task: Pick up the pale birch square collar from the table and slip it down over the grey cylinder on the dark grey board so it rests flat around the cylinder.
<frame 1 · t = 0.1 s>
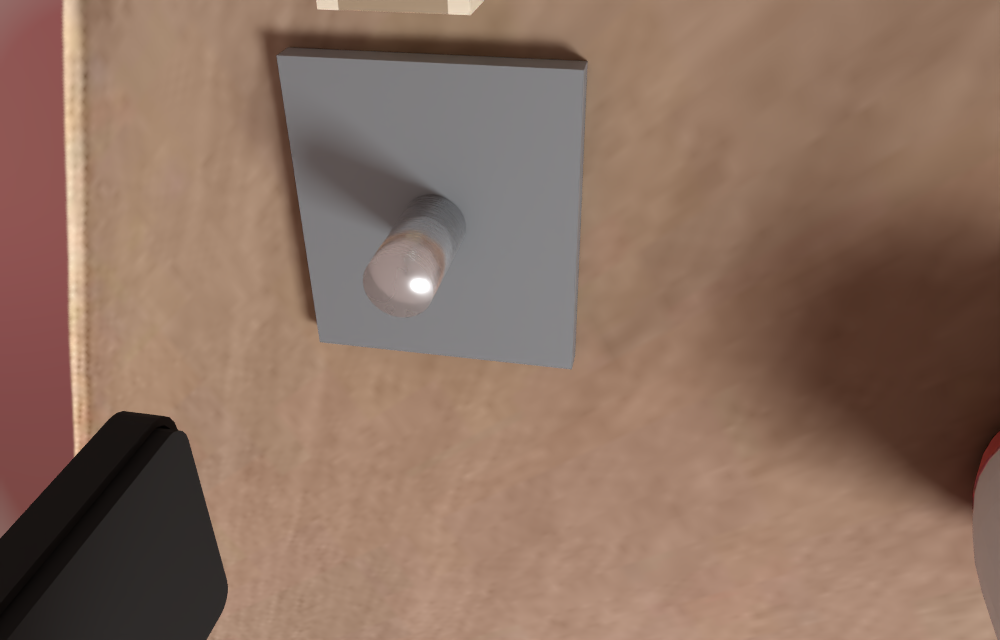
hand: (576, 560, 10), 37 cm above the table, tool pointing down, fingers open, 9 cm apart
grey board: (441, 212, 50), on the table
grey cylinder: (434, 223, 48), resting on grey board
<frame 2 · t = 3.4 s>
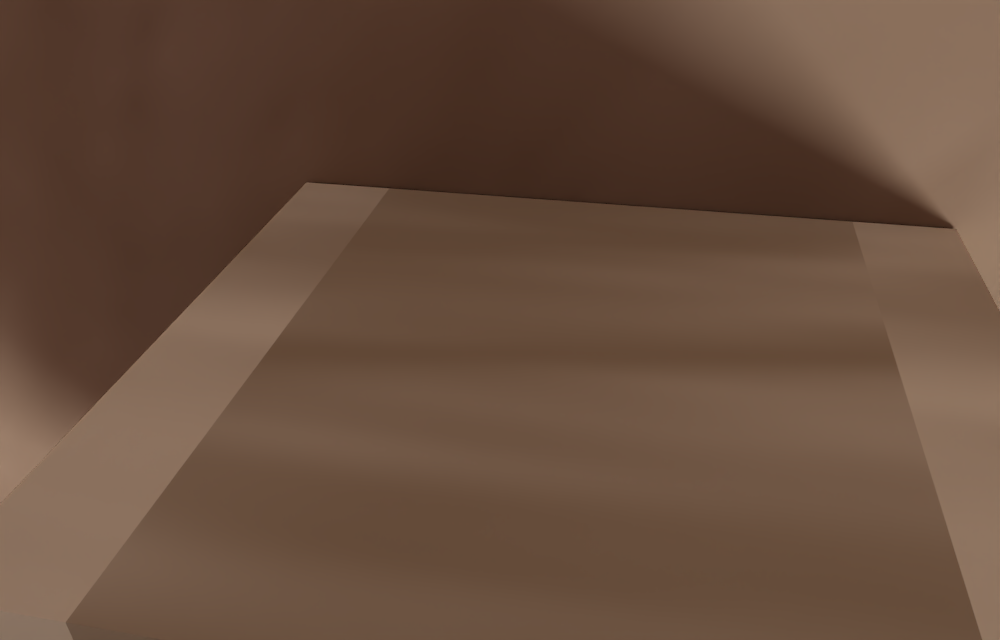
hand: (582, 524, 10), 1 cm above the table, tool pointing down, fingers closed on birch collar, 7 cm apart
birch collar: (595, 449, 11), on the table, touching gripper
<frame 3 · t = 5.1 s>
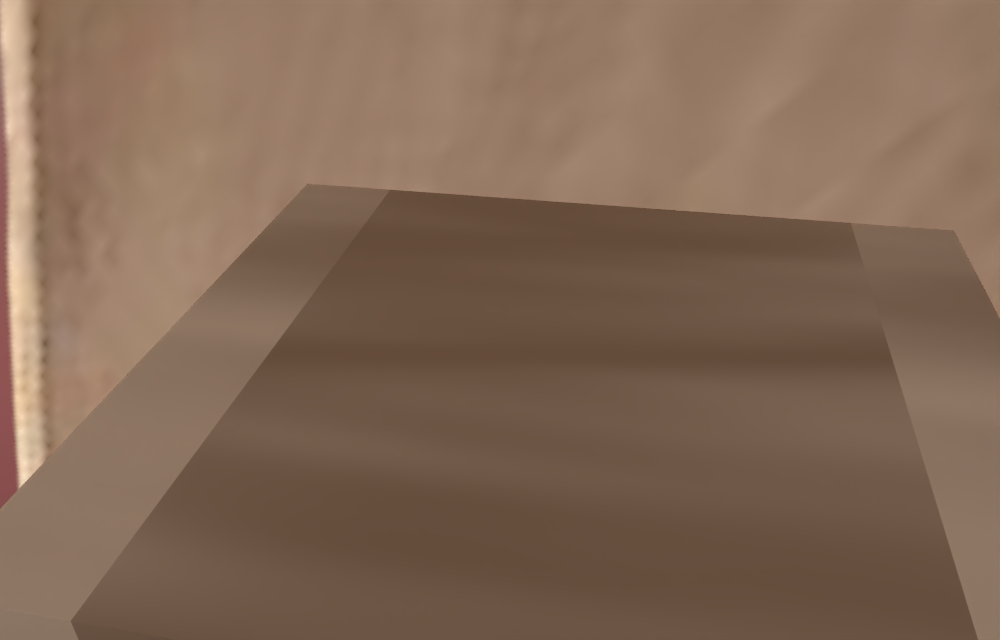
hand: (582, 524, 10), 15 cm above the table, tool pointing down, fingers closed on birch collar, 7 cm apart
birch collar: (595, 449, 11), point 14 cm above the table, touching gripper
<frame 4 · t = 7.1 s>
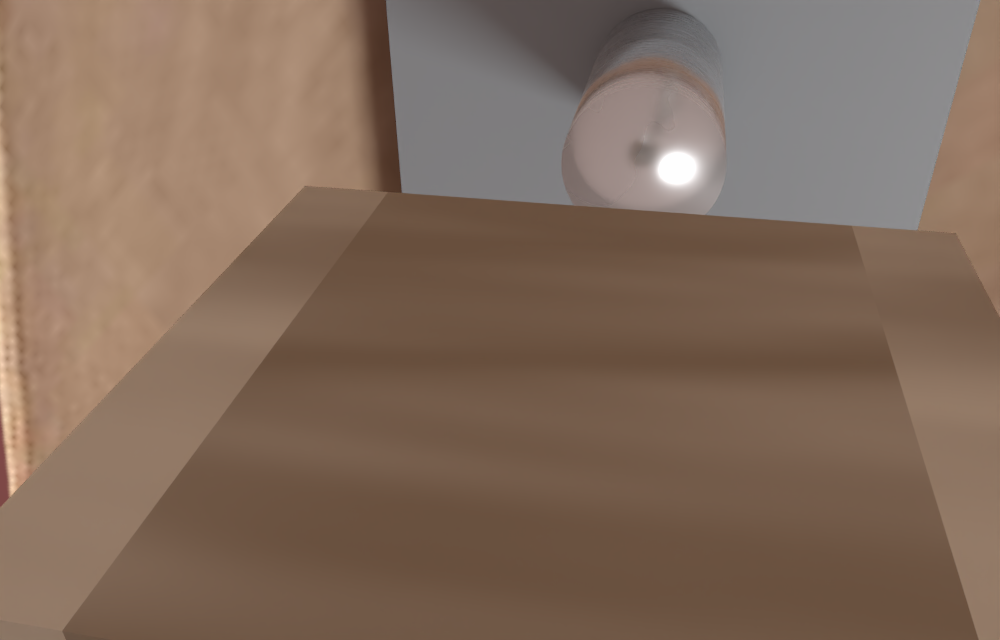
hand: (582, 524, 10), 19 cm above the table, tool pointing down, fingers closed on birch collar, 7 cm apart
birch collar: (594, 452, 11), point 18 cm above the table, touching gripper
grey board: (660, 57, 26), on the table
grey cylinder: (657, 72, 25), resting on grey board
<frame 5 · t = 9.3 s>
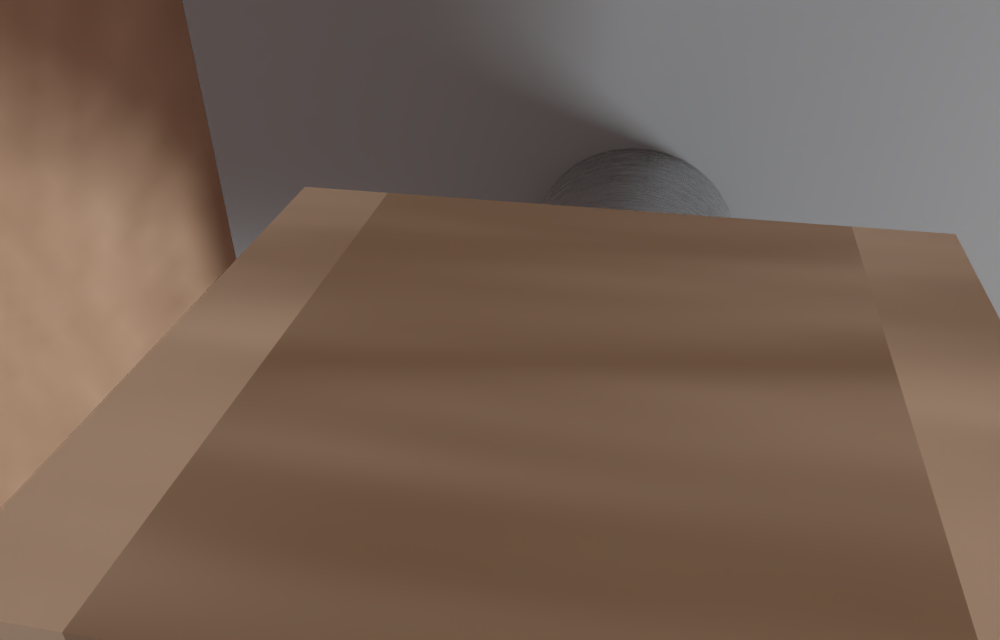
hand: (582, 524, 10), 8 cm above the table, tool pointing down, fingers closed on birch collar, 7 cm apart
birch collar: (594, 453, 11), point 7 cm above the table, touching gripper
grey board: (638, 206, 17), on the table
grey cylinder: (632, 242, 16), resting on grey board
when the fingers open (5 cm above the table, at t = 10.9 s): birch collar drops 2 cm, resting on grey board.
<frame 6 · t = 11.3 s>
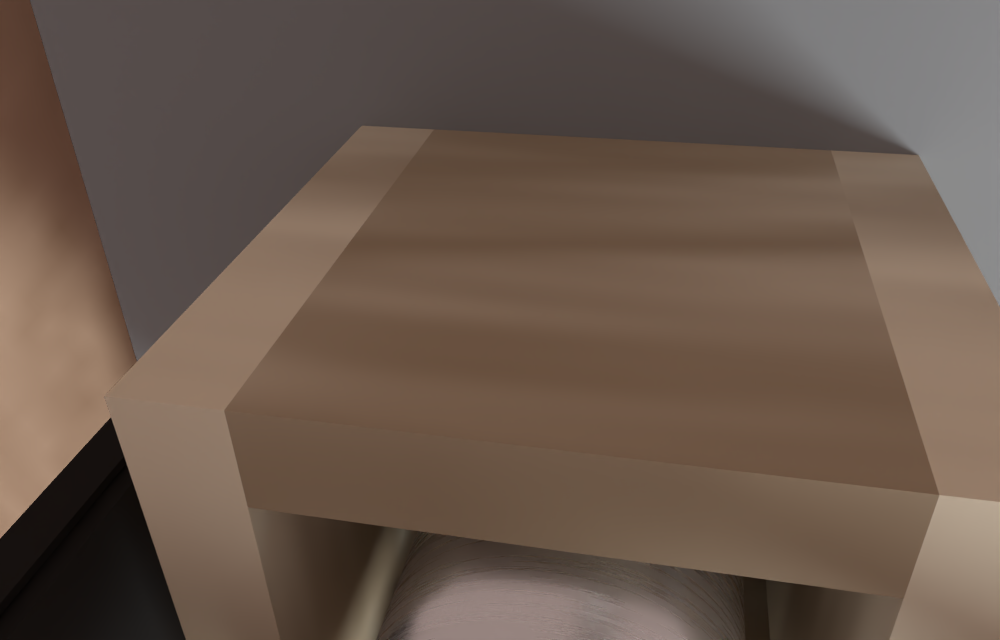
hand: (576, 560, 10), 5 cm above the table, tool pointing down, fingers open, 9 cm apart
birch collar: (610, 364, 13), point 1 cm above the table, touching grey board
grey board: (617, 313, 14), on the table
grey cylinder: (608, 366, 13), resting on grey board
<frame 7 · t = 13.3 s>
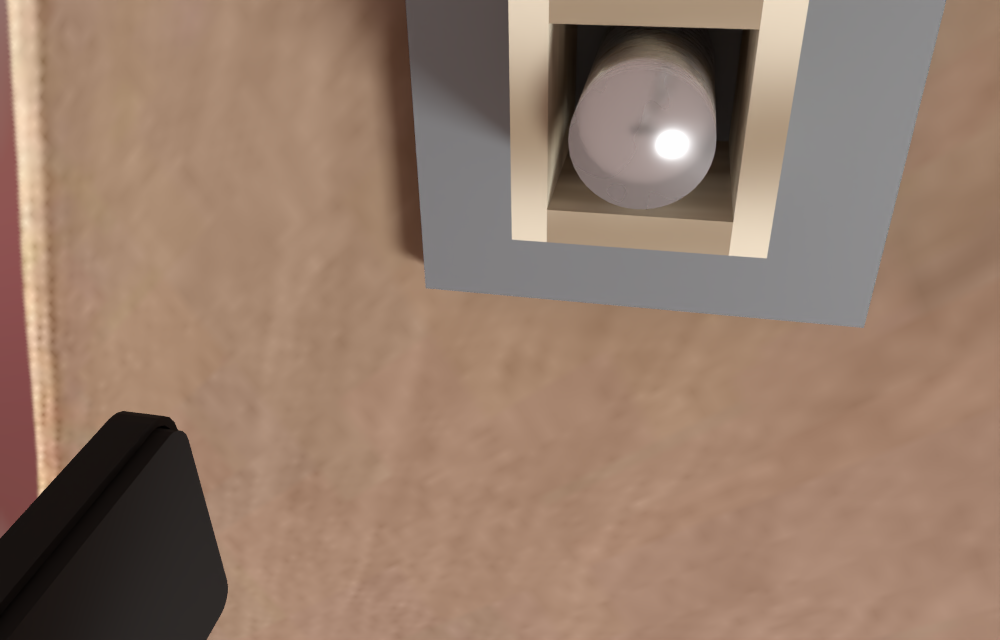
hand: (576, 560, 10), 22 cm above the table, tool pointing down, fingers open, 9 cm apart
birch collar: (656, 60, 27), point 1 cm above the table, touching grey board
grey board: (657, 49, 28), on the table
grey cylinder: (655, 62, 27), resting on grey board
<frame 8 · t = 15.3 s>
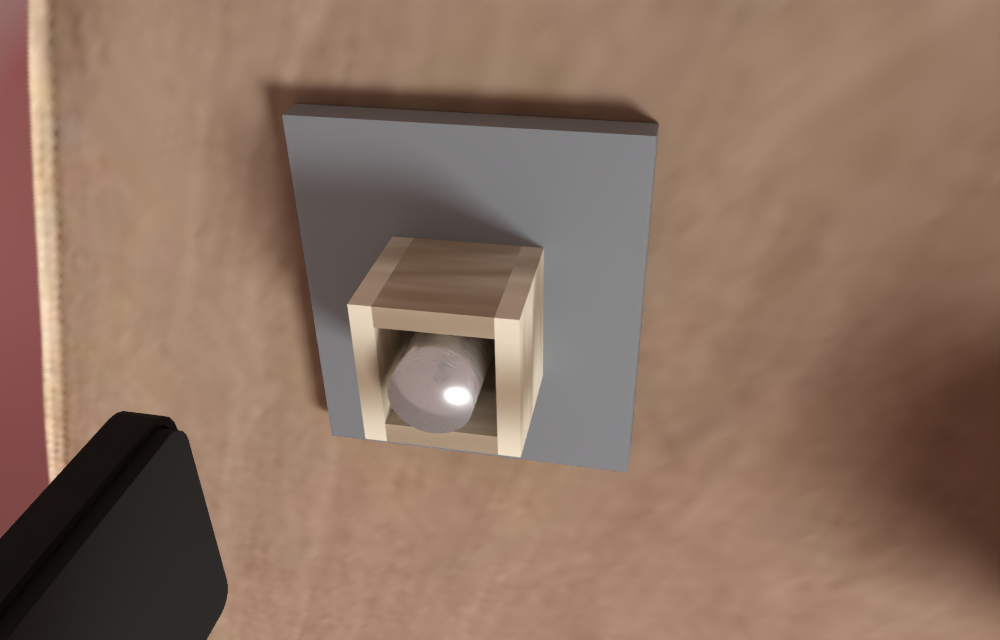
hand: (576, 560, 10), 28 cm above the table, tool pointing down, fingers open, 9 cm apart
birch collar: (470, 308, 41), point 1 cm above the table, touching grey board
grey board: (476, 292, 42), on the table
grey cylinder: (469, 308, 41), resting on grey board
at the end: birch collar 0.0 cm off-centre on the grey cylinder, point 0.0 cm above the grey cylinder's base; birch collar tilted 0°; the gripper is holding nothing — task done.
